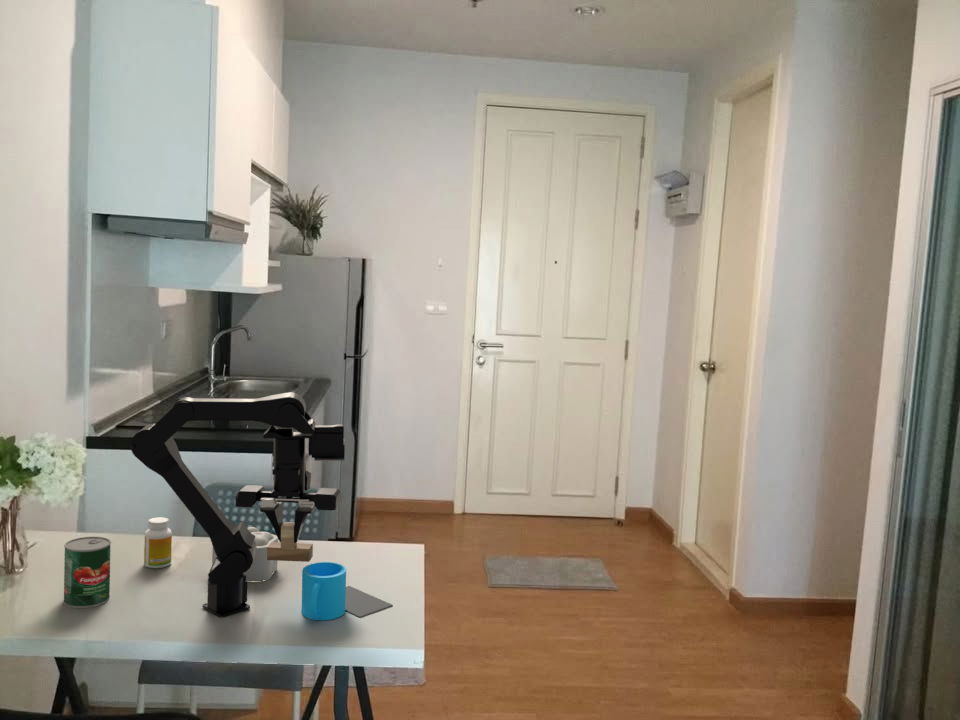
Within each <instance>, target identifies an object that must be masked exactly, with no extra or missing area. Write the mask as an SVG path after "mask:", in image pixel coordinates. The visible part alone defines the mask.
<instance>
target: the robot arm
mask: <svg viewBox="0 0 960 720" xmlns="http://www.w3.org/2000/svg"><path fill="white" fill-rule="evenodd" d="M306 409H307V406H306V402H305V400H304V398H303V397H302V396H301V395H300V394H298V393H296V392H292V391H290V392H284V393H278V394H277V393H276V394H272V395H266V396H263V397H258V398H210V397H209V398H206V397H205V398H200V397H199V398H196V397H195V398H193V397H190V396H185V397H181V398H180V399H179V400H177V402H176V403H174V404H173V406H172V408H171V409H170V410H169V411H168V412H166V413H165V415H163V416H162V417H161V418H160V419H159V420H158V421H157V422H156V423H149V424H146V425H145V426H144V427H142V428H141V429H140V430H139V431H138V432H136V433H135V434H134V435H133V437H132V439H131V442H130V450H131V451H130V452H131V453H132V455H133V456H134V457H135V458H136V459H138V460H139V462H141V463H142V464H143V465H144V466H146V468H148V469H149V470H151V471H153V472H154V473H156V474H157V475H160V477H162V478H163V480H164V481H165V482H166V483H167V484H168V486H169V487H170V488H171V489H172V491H173V493H175V495H176V496H177V497H178V498H179V500H180V501H181V502H182V503H183V505H184V506H185V508H187V510H188V511H189V513H190V514H191V515H192V516H193V518H194V519H195V520H196V521H197V523H198V524H199V525H200V526H201V528H202V529H203V531H204V532H205V533H206V534H207V535H208V537H209V539H210V542H211V545H212V549H213V548H214V551H215V554H216V556H217V557H216V558H215V560H214V562H213V565H212V564H211V568H210V569H209V571H208V574H207V576H208V578H207V598H206V599H207V602H205V603H203V604H202V605H201V606H202V608H203V609H205V610H207V612H208V611H209V612H210V613H213V615H216V616H218V617H219V618H222V617H226V616H229V615H233V614H237V613H240V612H243V611H247V610H249V609H251V605H250V604H248V603H247V602H248V588H249V587H248V586H249V582H247V581H246V574H244V572H246V571H247V570H248V569H250V567H251V565H252V563H253V560H254V557H255V553H256V543H255V541H254V540H255V537H256V536H255V535H253V534H251V533H250V532H249V530H248V529H247V528H248V527H247V525H246V523H245V522H244V521H240V523H238V525H237V524H235V523H233V522H232V521H231V520H229V519H228V518H227V517H226V515H225V514H224V513H223V511H222V510H221V508H219V506H218V505H217V504H216V502H215V501H214V500H213V499H212V497H211V496H210V494H209V493H208V492H207V491H206V489H205V488H204V487H203V485H202V484H201V483H200V482H199V481H198V479H197V478H196V477H195V476H194V474H193V473H192V471H190V469H189V467H188V466H187V465H186V464H185V462H184V461H183V458H182V455H181V453H180V450H179V447H178V445H177V442H176V441H175V438H174V437H173V436H174V434H176V433H177V432H178V431H179V430H180V429H181V428H182V427H183V426H184V425H185V424H186V423H187V422H192V421H193V422H194V421H196V422H197V421H202V422H203V421H205V422H206V421H208V422H210V421H214V422H215V421H216V422H217V421H221V422H223V421H224V422H225V421H227V422H231V421H234V422H236V421H237V422H238V421H239V422H246V421H247V422H249V421H250V422H251V421H253V422H259V423H261V424H266V425H269V426H270V427H269V428H267V430H265V431H264V433H263V435H262V438H263V439H273V468H272V474H271V475H273V476H272V477H273V479H272V480H273V490H272V491H270V490H269V491H267V490H266V488H265V486H264V485H255V484H254V485H252V484H246V485H245V486H243V487H242V488H241V489H240V490H238V492H236V495H235V507H238V508H252V507H253V506H254V505H256V504H257V502H261V506H260V508H259V512H260V513H264V514H265V515H266V517H267V519H268V520H269V522H270V524H271V526H272V528H273V530H274V532H275V535H276V536H277V537H278V542H280V543H281V525H282V524H283V523H284V521H283V520H284V519H283V508H284V507H283V506H284V503H292V504H293V503H295V504H297V503H298V505H299V506H298V507H297V508H296V509H295V513H294V522H295V524H294V543H298V541H299V538H300V535H301V532H302V529H303V527H304V524H305V522H306V518H307V517H308V515H311V514H312V513H313V512H314V511H315V510H316V509H317V510H318V511H336V510H337V509H338V507H339V506H340V505H341V503H342V492H341V491H340V488H334V487H332V488H330V487H320V488H319V489H318V490H317V492H306V491H309V490H310V489H311V479H312V473H311V472H310V471H308V470H307V464H306V439H308V444H307V445H308V448H307V449H308V450H307V451H308V457H309V456H311V459H314V460H313V461H315V462H326V461H327V462H329V461H330V462H335V461H336V462H338V461H339V462H343V461H345V451H346V447H345V445H346V444H345V443H346V442H345V441H346V439H345V436H344V435H345V432H344V431H345V427H344V424H341V423H339V424H338V423H337V424H336V423H335V424H333V425H330V424H329V425H327V424H321V425H319V424H318V425H317V424H316V422H315V420H314V419H313V418H312V417H311V415H310V414H309V412H308V411H307V410H306ZM294 430H295V431H294Z"/></svg>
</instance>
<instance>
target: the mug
mask: <svg viewBox="0 0 960 720" xmlns="http://www.w3.org/2000/svg"><path fill="white" fill-rule="evenodd" d="M301 577H302V578H301V615H302V616H303V617H305V618H306V619H309V620H314V621H331V620H334V619H338V618H340V617H341V616H343V615H344V614H345V613H346V611H345V599H346V587H347V567H346V565H343V564H342V563H338V562H333V561H321V562H320V561H319V562H313V563H309V564H307V565H305V566H304V567H302V571H301Z"/></svg>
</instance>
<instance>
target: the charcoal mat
mask: <svg viewBox="0 0 960 720" xmlns="http://www.w3.org/2000/svg"><path fill="white" fill-rule="evenodd" d="M390 607H393V604H392V603H390V602H387V601H385V600H382V599H380V598H378V597H376V596H374V595H371V594H369V593H367V592H364V591H362V590H360V589H357V588H355V587H353V586H351V585H346V599H345V612H347V613H349V614H351V615H354V616H355V617H357V618H362V617H365V616H368V615H371V614H374V613H376V612H379V611H382V610H385V609H387V608H390Z"/></svg>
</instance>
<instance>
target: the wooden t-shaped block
mask: <svg viewBox="0 0 960 720" xmlns="http://www.w3.org/2000/svg"><path fill="white" fill-rule="evenodd" d="M294 524H295V521H294V522H293V521H292V522H291V521H290V522H289V521H283V524H282V525H281V542H280V541H278V542H271V543H270V544H269V546H268V547H267V560H276V561H277V562H278V561H280V562H281V561H282V562H284V561H285V562H304V563H305V562H306V563H307V562H308V563H309V562H310V561H311V560H312V559H313V557H314V552H313V551H314V547H313V546H314V544H313V543H307V542H306V543H303V542H299V543H298V542H297V543H294Z"/></svg>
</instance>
